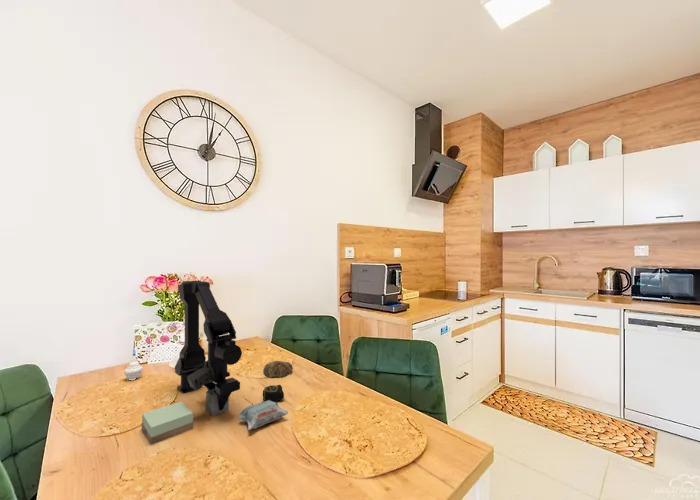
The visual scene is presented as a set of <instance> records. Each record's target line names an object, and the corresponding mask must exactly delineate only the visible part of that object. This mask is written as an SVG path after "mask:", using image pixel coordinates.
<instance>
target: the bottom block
mask: <svg viewBox="0 0 700 500" xmlns="http://www.w3.org/2000/svg"><path fill="white" fill-rule="evenodd" d="M193 429H194V421H193V422H192V423H189V424H186V425H183V426H181V427H178V428H175V429H173V430H170V431H167V432H165V433H162V434H159V435H156V436H154V437H151V436H150V435H149V433H148V431H147V430H146V428H145V426H144V425H143V423H142V422H141V432H142V433H143V434H144V436H145V437H146V439H147V440H148V442H149V443H150V445H155V444H157V443H161V442H162V441H165V440H167V439H170V438H173V437H175V436H177V435H180V434H183V433H185V432H187V431H191V430H193Z"/></svg>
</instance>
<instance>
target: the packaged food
mask: <svg viewBox="0 0 700 500" xmlns="http://www.w3.org/2000/svg"><path fill="white" fill-rule="evenodd" d="M288 414H289V411H288V410H287V409H284V408H282V407H280V405H279V403H277V402H276V401H274V402H273V401H270V400H268V401H265V400H264V401H261V402H260V403H256V404H252V405H250V406H246V407H245V408H244V409H242V410H241V411H240V413H239V415H238V417H237V420H238V421H241V420H242V421H243V422H246V424H247V430H248V431H251V430H252V429H253V430H254V429H255V430H256V429H258V428H260V427H263V426H265V425H266V424H267V425H268V424H271V423H273V422H274V421H277V420H279V419H282V418H283V417H284V416H286V415H288Z"/></svg>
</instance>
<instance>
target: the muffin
mask: <svg viewBox="0 0 700 500" xmlns="http://www.w3.org/2000/svg"><path fill="white" fill-rule="evenodd" d="M143 369H144V368H143V366H142V365H141V364H140V362H139V361H137V360H136V361H131V362H130V363H128V366H127V367H126V368H125V370H124V372H123V373H124V375H125V377H126V379H127V380H128V379H134V378H138V377H139V378H140V376H141V374H142V372H143V371H144V370H143ZM139 378H138V379H139Z"/></svg>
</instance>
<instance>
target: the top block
mask: <svg viewBox="0 0 700 500" xmlns="http://www.w3.org/2000/svg"><path fill="white" fill-rule="evenodd" d="M141 415H142V416H141V424H142V423H143V425H144V426H145V428H146V430H147V431H148V433H149V435H150V436H151V437H154V436H156V435H159V434H162V433H165V432H167V431H170V430H173V429H175V428H178V427H181V426H183V425H186V424H189V423H192V422H193V423H194V413H193V411H192V410H191V409H190V408H188V406H187V405H186V404H185V403H184V402H183V401H178V402H175V403H172V404H169V405H165V406H162V407H160V408H156V409H153V410H150V411H147V412H144V413H142V414H141Z"/></svg>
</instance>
